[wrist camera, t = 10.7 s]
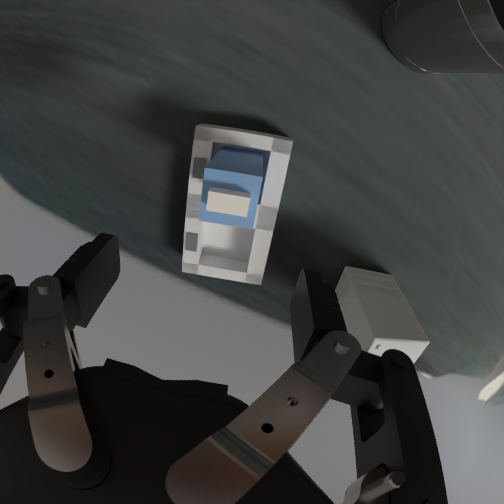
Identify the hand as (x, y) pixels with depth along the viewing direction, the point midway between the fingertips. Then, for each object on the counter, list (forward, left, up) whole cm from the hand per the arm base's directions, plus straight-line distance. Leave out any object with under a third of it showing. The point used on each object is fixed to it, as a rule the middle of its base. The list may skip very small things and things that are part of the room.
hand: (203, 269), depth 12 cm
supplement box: (+13, +18, -20) cm, 30 cm away
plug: (0, 0, -19) cm, 19 cm away
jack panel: (+4, 0, -20) cm, 20 cm away
